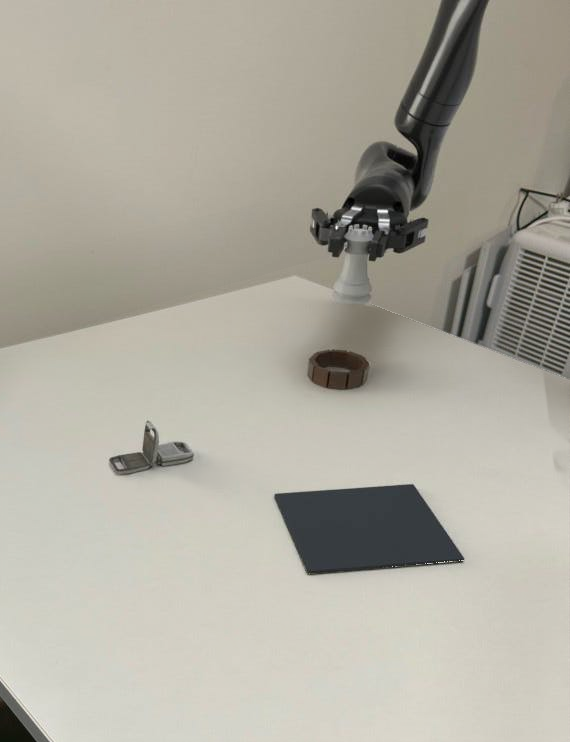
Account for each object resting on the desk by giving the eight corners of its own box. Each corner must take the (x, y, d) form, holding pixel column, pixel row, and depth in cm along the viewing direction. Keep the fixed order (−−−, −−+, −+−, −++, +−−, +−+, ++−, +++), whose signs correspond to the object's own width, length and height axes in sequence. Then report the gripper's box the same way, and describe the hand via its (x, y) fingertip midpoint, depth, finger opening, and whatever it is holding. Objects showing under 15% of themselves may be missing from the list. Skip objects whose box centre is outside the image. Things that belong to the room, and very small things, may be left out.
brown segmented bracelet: (355, 362, 104) (357, 347, 103) (374, 388, 99) (376, 372, 97) (301, 365, 104) (303, 350, 102) (317, 391, 98) (319, 375, 97)
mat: (412, 487, 81) (413, 483, 81) (463, 562, 72) (464, 558, 72) (274, 496, 80) (274, 493, 80) (307, 574, 70) (308, 571, 70)
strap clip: (184, 447, 87) (185, 411, 85) (195, 461, 85) (196, 424, 82) (107, 461, 85) (106, 425, 82) (116, 476, 83) (115, 439, 80)
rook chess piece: (354, 310, 91) (364, 236, 87) (323, 299, 94) (331, 227, 89) (378, 300, 94) (390, 228, 89) (347, 290, 96) (356, 219, 92)
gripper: (323, 170, 100) (292, 207, 87) (443, 179, 97) (429, 219, 84) (316, 233, 105) (286, 277, 92) (430, 244, 101) (416, 292, 88)
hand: (354, 249), depth 88 cm, fingers closed on rook chess piece, 3 cm apart
